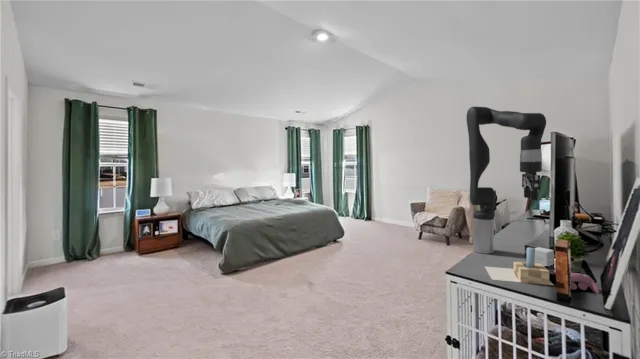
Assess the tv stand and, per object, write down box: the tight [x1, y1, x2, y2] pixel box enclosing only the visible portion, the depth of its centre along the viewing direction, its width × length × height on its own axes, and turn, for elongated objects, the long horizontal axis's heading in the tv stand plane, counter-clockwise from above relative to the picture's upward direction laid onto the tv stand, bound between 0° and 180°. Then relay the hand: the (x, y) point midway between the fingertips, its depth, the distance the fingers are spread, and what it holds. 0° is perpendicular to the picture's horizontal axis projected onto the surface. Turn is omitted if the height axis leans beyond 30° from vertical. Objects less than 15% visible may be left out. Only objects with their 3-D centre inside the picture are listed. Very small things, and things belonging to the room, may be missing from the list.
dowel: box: [525, 247, 536, 268], centre depth 112 cm, size 3×3×12 cm
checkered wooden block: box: [513, 261, 550, 286], centre depth 112 cm, size 9×9×5 cm
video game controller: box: [570, 272, 600, 294], centre depth 102 cm, size 10×5×7 cm, turn 78°
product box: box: [534, 246, 555, 266], centre depth 126 cm, size 6×6×7 cm
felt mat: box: [484, 266, 554, 286], centre depth 116 cm, size 15×20×1 cm
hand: (530, 198), depth 122 cm, fingers open, 8 cm apart
